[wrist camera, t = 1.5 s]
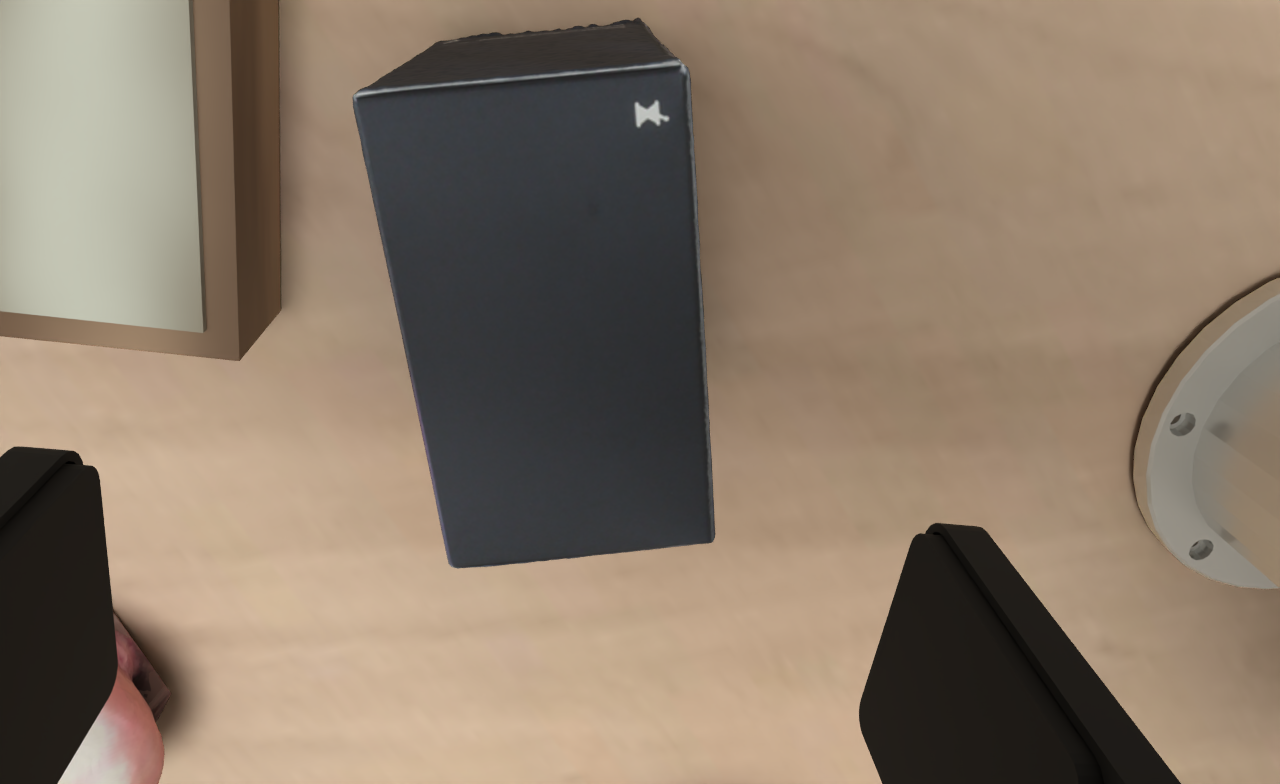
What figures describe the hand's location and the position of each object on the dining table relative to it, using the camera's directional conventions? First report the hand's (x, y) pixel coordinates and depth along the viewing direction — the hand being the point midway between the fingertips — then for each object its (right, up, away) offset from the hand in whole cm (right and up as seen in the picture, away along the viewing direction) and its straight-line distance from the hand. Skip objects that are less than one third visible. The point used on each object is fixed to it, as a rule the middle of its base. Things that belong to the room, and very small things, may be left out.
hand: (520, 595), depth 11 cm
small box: (-1, +8, +17) cm, 19 cm away
